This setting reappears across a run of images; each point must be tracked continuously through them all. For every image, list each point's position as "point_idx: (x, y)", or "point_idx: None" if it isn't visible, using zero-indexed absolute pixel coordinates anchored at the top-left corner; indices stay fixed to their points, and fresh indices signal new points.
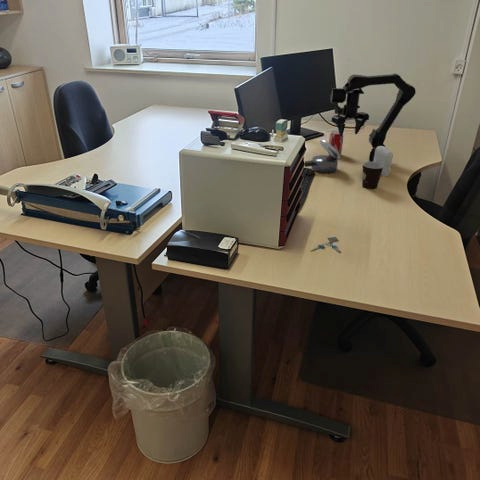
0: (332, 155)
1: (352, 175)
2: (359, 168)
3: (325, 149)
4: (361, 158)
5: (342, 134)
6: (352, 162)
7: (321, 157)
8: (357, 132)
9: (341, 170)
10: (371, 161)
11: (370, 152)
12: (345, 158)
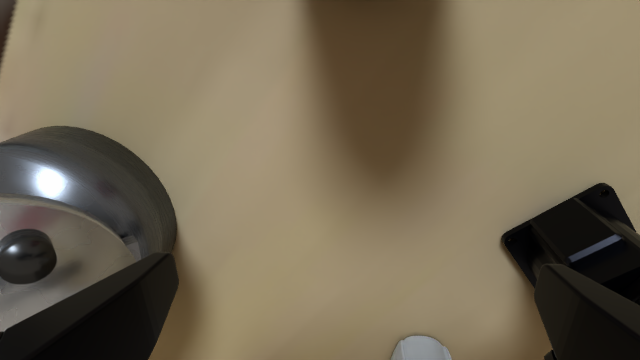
0: (115, 233)
1: (220, 350)
2: (337, 293)
3: (11, 198)
4: (529, 137)
5: (151, 337)
6: (377, 185)
7: None
8: (564, 346)
9: (198, 273)
10: (513, 252)
11: (565, 262)
12: (394, 76)
